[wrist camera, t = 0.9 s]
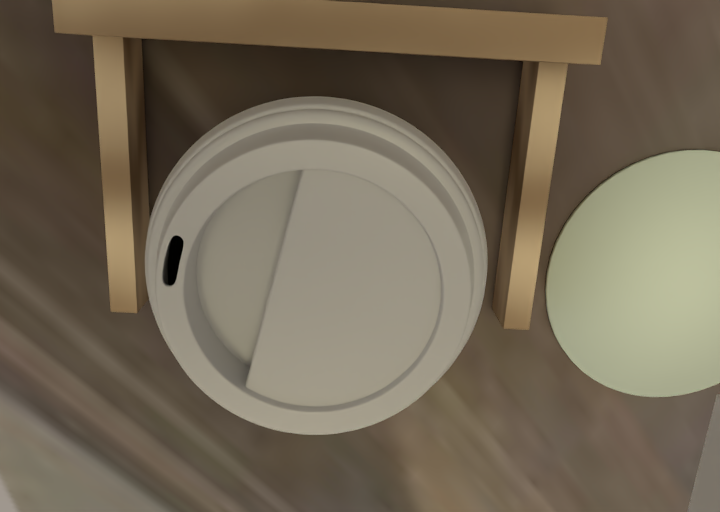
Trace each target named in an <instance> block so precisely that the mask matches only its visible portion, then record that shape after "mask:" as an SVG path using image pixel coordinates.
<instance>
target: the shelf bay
mask: <svg viewBox="0 0 720 512" xmlns="http://www.w3.org/2000/svg"><path fill="white" fill-rule="evenodd" d="M52 6H53V18H54V30H55V33H64V34H78V35H92V36H93V50H94V65H95V80H96V95H97V111H98V126H99V141H100V156H101V171H102V186H103V201H104V216H105V231H106V246H107V261H108V276H109V292H110V307H111V312H128V313H138V311H139V310H140V309H141V308H142V306H143V305H144V304H145V303H146V301H147V300H148V299H149V296H148V291H147V285H146V277H145V248H146V239H147V232H148V226H149V222H150V216H149V193H148V171H147V148H146V126H145V103H144V81H143V59H142V39H154V40H171V41H188V42H206V43H223V44H240V45H257V46H274V47H291V48H308V49H325V50H342V51H359V52H376V53H393V54H410V55H427V56H444V57H461V58H478V59H495V60H512V61H523V68H522V76H521V84H520V91H519V99H518V107H517V115H516V123H515V131H514V139H513V147H512V154H511V162H510V170H509V178H508V186H507V194H506V202H505V210H504V218H503V225H502V233H501V241H500V249H499V257H498V265H497V273H496V281H495V288H494V296H493V304H492V309H493V311H494V313H495V315H496V316H497V318H498V320H499V322H500V323H501V325H502V327H503V328H504V329H523V330H529V325H530V319H531V312H532V305H533V298H534V291H535V285H536V278H537V271H538V264H539V257H540V251H541V244H542V237H543V230H544V224H545V217H546V210H547V203H548V196H549V190H550V183H551V176H552V169H553V162H554V156H555V149H556V142H557V135H558V128H559V122H560V115H561V108H562V101H563V94H564V88H565V81H566V74H567V67H568V63H569V64H592V65H600V63H601V57H602V51H603V44H604V38H605V32H606V26H607V20H608V18H604V17H588V16H572V15H556V14H539V13H523V12H507V11H491V10H474V9H458V8H442V7H426V6H409V5H393V4H377V3H361V2H344V1H328V0H52Z"/></svg>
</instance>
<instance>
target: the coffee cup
mask: <svg viewBox="0 0 720 512" xmlns="http://www.w3.org/2000/svg"><path fill="white" fill-rule="evenodd" d="M145 277H146V285H147V291H148V296H149V300H150V304H151V307H152V311H153V314H154V317H155V319H156V322H157V324H158V327H159V329H160V331H161V334H162V336H163V338H164V340H165V341H166V343H167V345H168V347H169V348H170V350H171V351H172V353H173V354H174V356H175V358H176V359H177V361H178V362H179V364H180V365H181V367H182V368H183V370H184V371H185V372H186V374H187V375H188V376H189V377H190V378H191V380H192V381H193V382H194V383H195V384H196V385H197V386H198V387H199V388H200V389H201V390H202V391H203V392H204V393H205V394H206V395H208V396H209V397H210V398H211V399H213V400H214V401H215V402H216V403H218V404H219V405H221V406H222V407H224V408H225V409H227V410H228V411H230V412H232V413H233V414H235V415H237V416H239V417H241V418H243V419H245V420H248V421H250V422H252V423H255V424H257V425H260V426H263V427H266V428H270V429H274V430H278V431H282V432H288V433H295V434H306V435H324V434H336V433H343V432H348V431H353V430H357V429H361V428H364V427H367V426H370V425H373V424H376V423H378V422H381V421H383V420H385V419H387V418H389V417H391V416H393V415H395V414H397V413H398V412H400V411H402V410H403V409H405V408H406V407H408V406H409V405H411V404H412V403H413V402H415V401H416V400H417V399H418V398H420V397H421V396H422V395H423V394H424V393H425V392H426V391H427V390H428V389H429V388H430V387H431V386H433V385H434V384H435V383H436V382H437V381H438V380H439V379H440V378H441V377H442V376H443V375H444V373H445V372H446V371H447V370H448V369H449V368H450V366H451V365H452V364H453V362H454V361H455V360H456V358H457V357H458V355H459V354H460V352H461V351H462V349H463V348H464V346H465V344H466V343H467V341H468V339H469V337H470V335H471V333H472V331H473V329H474V326H475V324H476V321H477V319H478V316H479V313H480V309H481V306H482V302H483V297H484V292H485V285H486V278H487V243H486V236H485V230H484V226H483V222H482V218H481V215H480V211H479V209H478V206H477V203H476V201H475V198H474V196H473V194H472V192H471V190H470V188H469V186H468V184H467V182H466V181H465V179H464V177H463V176H462V174H461V173H460V171H459V170H458V168H457V167H456V166H455V164H454V163H453V162H452V161H451V159H450V158H449V157H448V156H447V155H446V154H445V152H444V151H443V150H442V149H441V148H440V147H439V146H438V145H437V144H436V143H434V142H433V141H432V140H431V139H430V138H429V137H428V136H426V135H425V134H424V133H423V132H421V131H420V130H418V129H417V128H416V127H414V126H413V125H411V124H409V123H408V122H406V121H404V120H403V119H401V118H399V117H397V116H395V115H393V114H391V113H389V112H387V111H384V110H382V109H380V108H377V107H374V106H371V105H368V104H365V103H361V102H357V101H353V100H348V99H343V98H335V97H323V96H306V97H293V98H286V99H281V100H276V101H271V102H268V103H264V104H261V105H258V106H255V107H252V108H249V109H247V110H245V111H242V112H240V113H238V114H236V115H234V116H232V117H230V118H228V119H226V120H225V121H223V122H221V123H220V124H218V125H217V126H215V127H214V128H212V129H211V130H210V131H208V132H207V133H206V134H205V135H203V136H202V137H201V138H200V139H199V140H198V141H197V142H195V143H194V144H193V145H192V146H191V147H190V148H189V149H188V150H187V152H186V153H185V154H184V155H183V156H182V157H181V159H180V160H179V161H178V162H177V164H176V165H175V166H174V168H173V169H172V171H171V172H170V174H169V176H168V177H167V179H166V181H165V182H164V184H163V186H162V188H161V190H160V192H159V195H158V197H157V199H156V202H155V205H154V208H153V211H152V214H151V218H150V222H149V226H148V232H147V239H146V248H145Z"/></svg>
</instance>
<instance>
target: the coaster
mask: <svg viewBox="0 0 720 512" xmlns="http://www.w3.org/2000/svg"><path fill="white" fill-rule="evenodd" d="M545 298H546V308H547V313H548V318H549V321H550V324H551V327H552V330H553V332H554V335H555V337H556V338H557V340H558V342H559V344H560V346H561V347H562V349H563V350H564V351H565V353H566V354H567V355H568V357H569V358H570V359H571V361H572V362H573V363H574V364H575V365H576V366H577V367H578V368H579V369H580V370H581V371H583V372H584V373H585V374H587V375H588V376H589V377H591V378H592V379H594V380H595V381H597V382H599V383H601V384H603V385H605V386H607V387H609V388H612V389H614V390H617V391H620V392H623V393H628V394H632V395H637V396H647V397H669V396H677V395H684V394H688V393H692V392H696V391H700V390H703V389H705V388H708V387H711V386H714V385H716V384H718V383H720V152H717V151H709V150H680V151H673V152H666V153H662V154H659V155H655V156H651V157H648V158H646V159H643V160H641V161H638V162H636V163H633V164H631V165H629V166H627V167H626V168H624V169H622V170H620V171H618V172H616V173H615V174H613V175H612V176H611V177H609V178H608V179H606V180H605V181H604V182H602V183H601V184H599V185H598V186H597V187H596V188H595V189H594V190H593V191H592V192H591V193H590V194H588V195H587V196H586V197H585V198H584V200H583V201H582V202H581V203H580V204H579V205H578V206H577V208H576V209H575V210H574V211H573V213H572V214H571V216H570V217H569V219H568V220H567V222H566V223H565V224H564V226H563V228H562V230H561V232H560V234H559V236H558V238H557V240H556V242H555V245H554V247H553V250H552V253H551V256H550V259H549V264H548V268H547V273H546V284H545Z"/></svg>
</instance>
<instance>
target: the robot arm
mask: <svg viewBox="0 0 720 512" xmlns="http://www.w3.org/2000/svg"><path fill="white" fill-rule="evenodd" d="M687 512H720V394H717V397H716V401H715V404H714V408H713V412H712V416H711V420H710V424H709V428H708V432H707V436H706V440H705V444H704V448H703V452H702V456H701V460H700V464H699V468H698V472H697V476H696V480H695V484H694V488H693V492H692V496H691V500H690V504H689V507H688V511H687Z"/></svg>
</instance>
